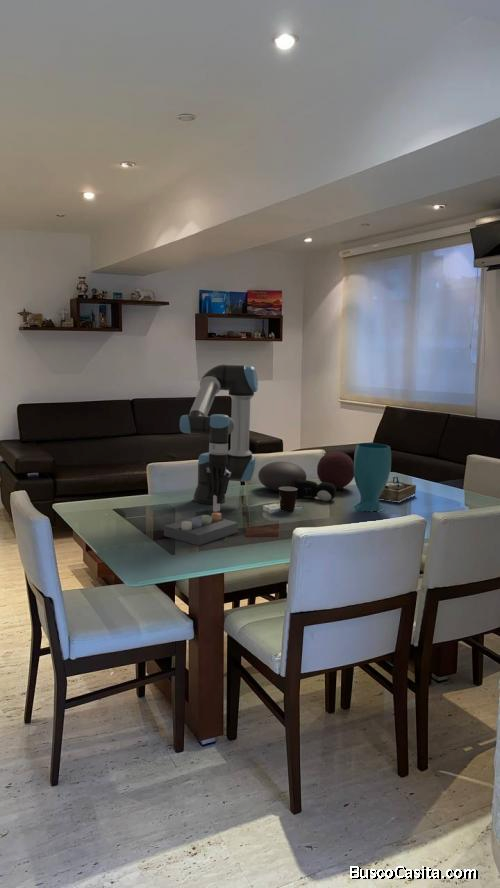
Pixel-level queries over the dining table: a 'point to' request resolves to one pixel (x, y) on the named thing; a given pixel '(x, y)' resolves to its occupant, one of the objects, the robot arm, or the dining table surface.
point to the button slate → (196, 522)
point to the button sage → (206, 519)
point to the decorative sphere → (336, 469)
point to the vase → (371, 473)
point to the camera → (395, 485)
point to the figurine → (315, 490)
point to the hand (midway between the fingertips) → (216, 510)
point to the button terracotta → (216, 517)
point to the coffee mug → (287, 498)
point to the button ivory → (186, 525)
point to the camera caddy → (398, 492)
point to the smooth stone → (280, 475)
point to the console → (201, 531)
